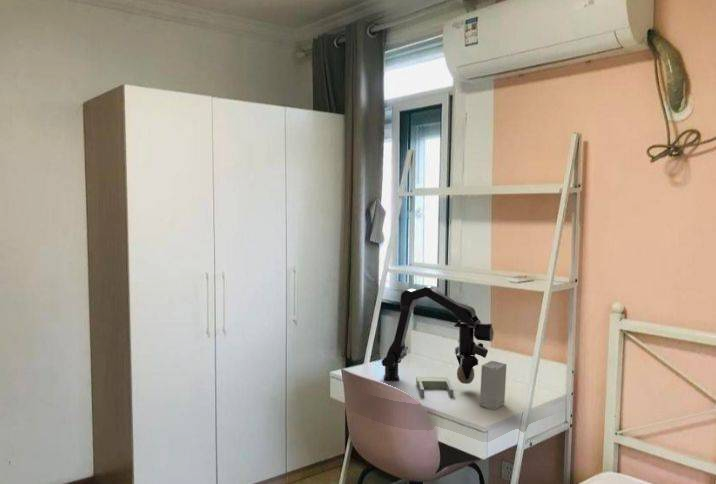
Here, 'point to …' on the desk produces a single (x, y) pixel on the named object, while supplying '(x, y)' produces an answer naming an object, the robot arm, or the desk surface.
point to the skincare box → (493, 385)
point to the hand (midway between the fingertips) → (465, 376)
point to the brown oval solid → (462, 377)
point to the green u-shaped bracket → (434, 384)
